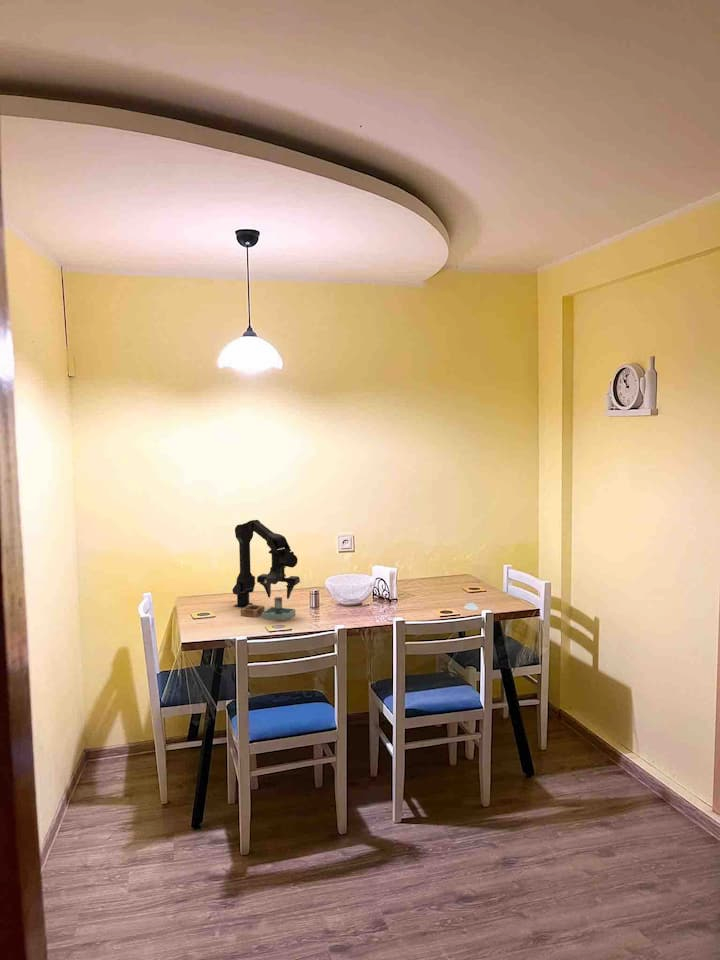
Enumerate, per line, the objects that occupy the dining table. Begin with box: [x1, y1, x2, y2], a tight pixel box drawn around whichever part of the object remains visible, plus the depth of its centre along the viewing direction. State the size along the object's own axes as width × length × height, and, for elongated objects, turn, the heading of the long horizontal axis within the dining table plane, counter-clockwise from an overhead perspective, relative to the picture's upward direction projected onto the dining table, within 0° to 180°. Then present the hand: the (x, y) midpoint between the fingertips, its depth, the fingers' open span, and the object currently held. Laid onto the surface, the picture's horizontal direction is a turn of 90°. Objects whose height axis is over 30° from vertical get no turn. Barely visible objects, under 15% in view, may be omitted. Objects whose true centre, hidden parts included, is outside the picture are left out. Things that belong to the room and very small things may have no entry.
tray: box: [261, 606, 296, 622], centre depth 297 cm, size 10×12×3 cm
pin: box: [274, 596, 283, 614], centre depth 297 cm, size 3×3×8 cm
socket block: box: [240, 604, 266, 618], centre depth 301 cm, size 8×8×3 cm
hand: (278, 598), depth 296 cm, fingers open, 9 cm apart
